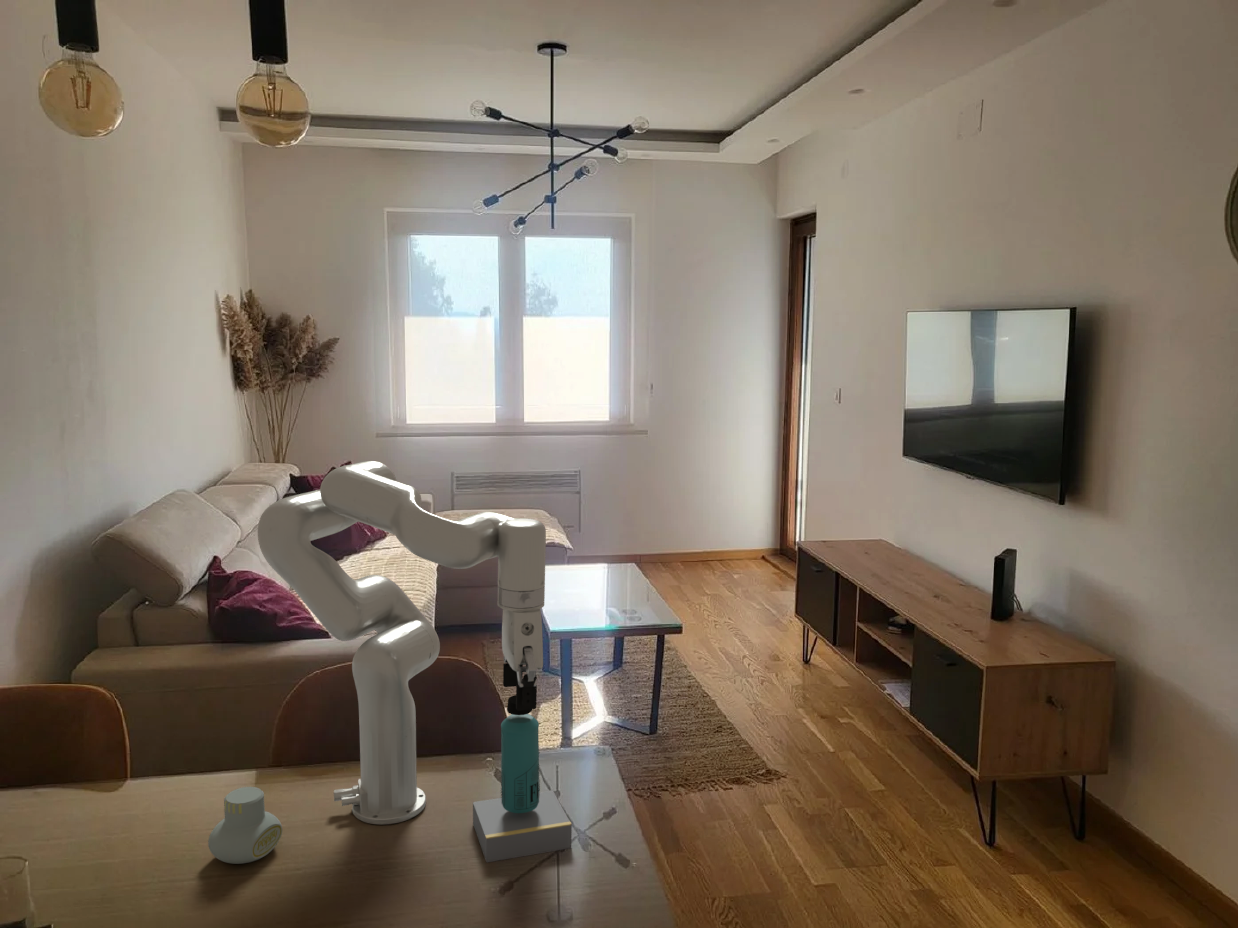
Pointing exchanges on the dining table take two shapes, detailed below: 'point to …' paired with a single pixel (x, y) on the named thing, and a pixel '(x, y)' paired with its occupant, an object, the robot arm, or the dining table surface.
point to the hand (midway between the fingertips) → (519, 697)
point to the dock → (521, 828)
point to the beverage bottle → (519, 760)
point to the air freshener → (244, 828)
